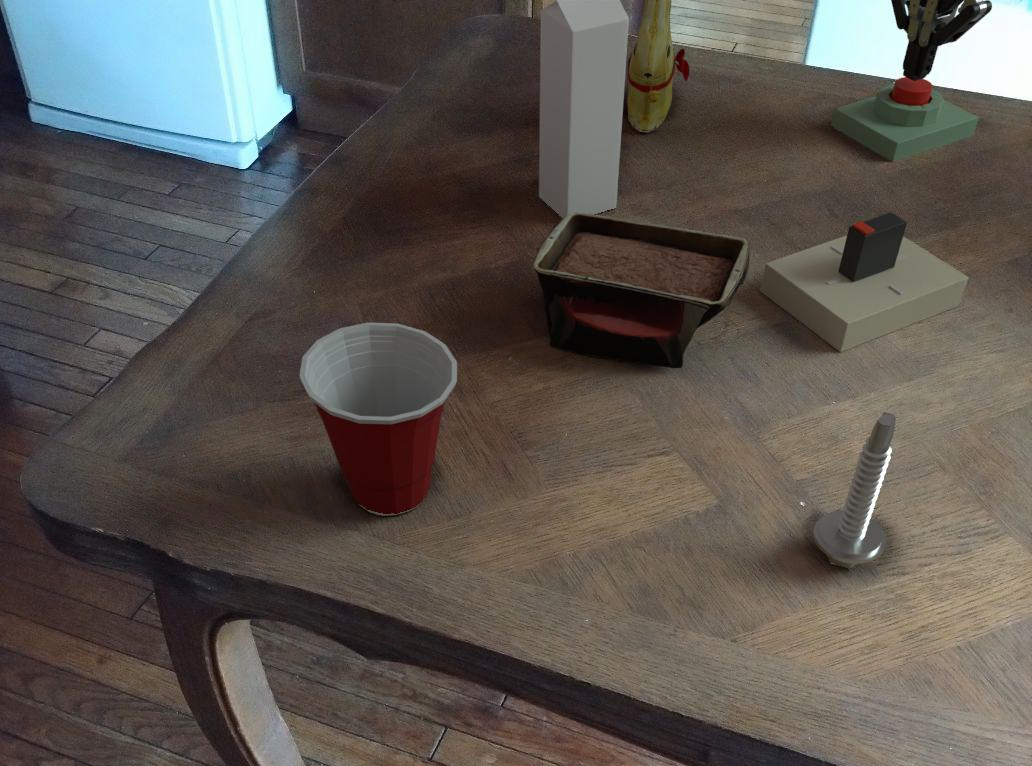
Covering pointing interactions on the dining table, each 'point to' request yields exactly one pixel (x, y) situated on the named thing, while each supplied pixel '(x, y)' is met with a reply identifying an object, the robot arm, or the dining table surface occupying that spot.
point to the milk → (581, 104)
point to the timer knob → (872, 246)
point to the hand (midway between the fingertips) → (914, 77)
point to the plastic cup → (381, 408)
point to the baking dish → (634, 286)
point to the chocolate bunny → (653, 68)
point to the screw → (859, 505)
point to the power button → (911, 92)
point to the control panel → (861, 292)
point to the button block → (903, 124)
